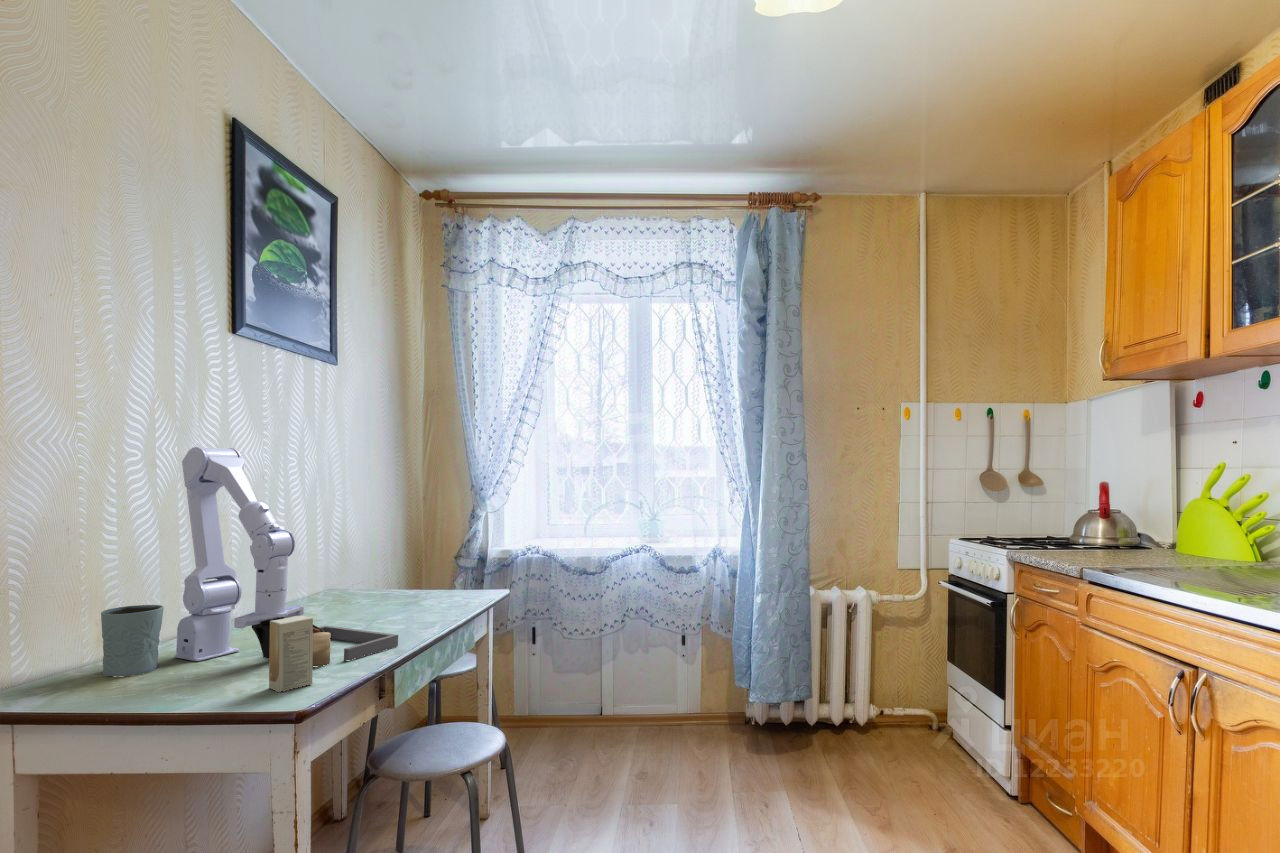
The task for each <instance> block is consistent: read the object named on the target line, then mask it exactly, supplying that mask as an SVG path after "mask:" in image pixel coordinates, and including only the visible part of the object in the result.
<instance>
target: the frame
mask: <svg viewBox="0 0 1280 853" xmlns="http://www.w3.org/2000/svg"><path fill="white" fill-rule="evenodd" d="M318 627H319V628H320V629H322V630H323V631H324V632H328V633H331V638H332V639H331V640H337V639H339V640H338V641H344V640H348V641H347V642H351V641H356V642H355V643H358V644H356V645H353V646H349V647H345V648H344V649H343V661H344V660H352V659H354V658H358V657H361V656H364V655H368V654H371V653H374V654H376V653H375V652H378V653H380V652H379V651H381V652H384V651H387V650H390V649H389V648H391V649H393V648H392V647H394V648H396V646H397V647H399V634H393V633H386V632H381V631H380V632H377V631H372V630H371V631H370V630H364V629H363V630H362V629H355V628H347V627H339V626H333V625H322V626H318ZM359 642H364V643H359ZM386 649H387V650H386ZM383 650H384V651H383ZM371 655H372V654H371ZM368 656H369V655H368ZM361 658H362V657H361ZM358 659H359V658H358ZM352 661H353V660H352Z"/></svg>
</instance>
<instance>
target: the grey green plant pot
mask: <svg viewBox="0 0 1280 853" xmlns="http://www.w3.org/2000/svg"><path fill="white" fill-rule="evenodd" d="M164 609H165V608H164V606H163V605H159V604H141V605H140V604H139V605H129V606H120V607H113V608H109V609H105V610H103V611H101V612H100V617H101V618H100V619H101V621H100V622H101V632H102V633H101V637H102V649H103V650H102V652H103V657H102V674H104V675H106V676H128V677H132V676H131V675H135V676H139V675H138V674H140V675H144V674H143V673H145V674H148V673H151V672H153V671H155V670H156V669H157V667H158V660H159V645H160V633H161V629H162V624H163V623H162V622H163V616H164ZM104 675H103V676H104ZM106 676H105V677H106Z"/></svg>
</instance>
